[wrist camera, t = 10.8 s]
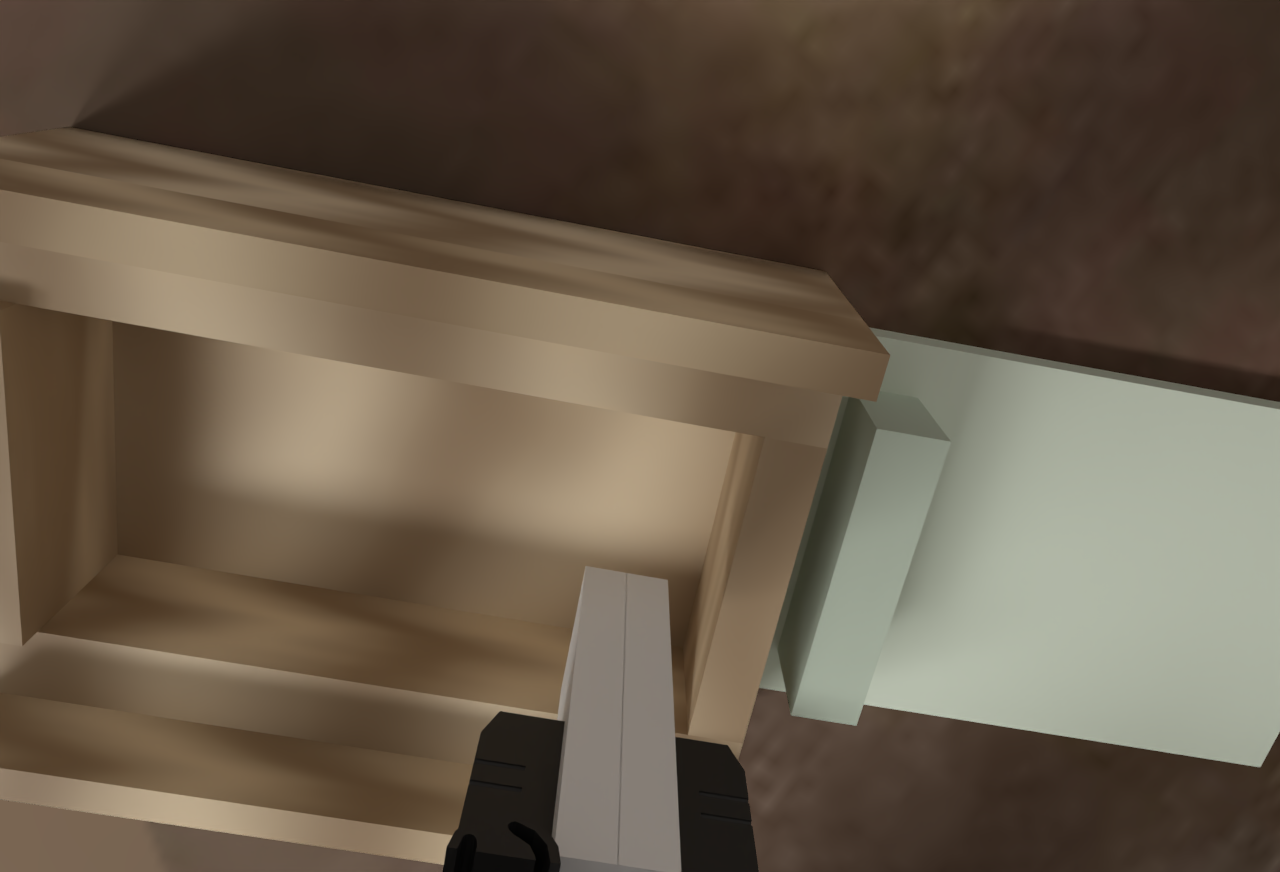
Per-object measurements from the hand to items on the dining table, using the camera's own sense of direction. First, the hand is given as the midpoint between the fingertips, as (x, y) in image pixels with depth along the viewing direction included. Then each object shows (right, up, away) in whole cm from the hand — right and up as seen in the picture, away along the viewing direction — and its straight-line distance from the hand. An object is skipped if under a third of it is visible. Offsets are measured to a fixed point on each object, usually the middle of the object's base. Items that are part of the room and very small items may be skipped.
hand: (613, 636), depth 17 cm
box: (-5, +3, +5) cm, 7 cm away
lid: (+11, +1, +6) cm, 12 cm away
